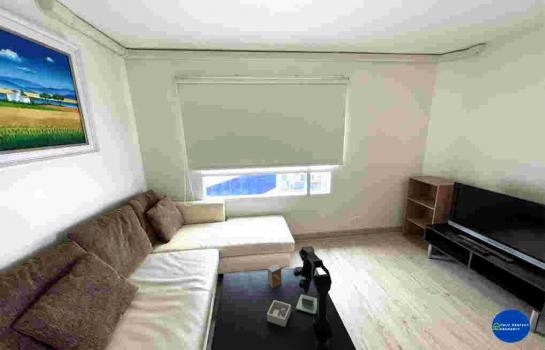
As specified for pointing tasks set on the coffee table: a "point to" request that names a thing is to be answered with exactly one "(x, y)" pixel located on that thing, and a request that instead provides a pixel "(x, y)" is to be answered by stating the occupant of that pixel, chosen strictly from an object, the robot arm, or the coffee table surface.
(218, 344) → the coffee table surface
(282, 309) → the storage box
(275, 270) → the small box
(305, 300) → the lid
